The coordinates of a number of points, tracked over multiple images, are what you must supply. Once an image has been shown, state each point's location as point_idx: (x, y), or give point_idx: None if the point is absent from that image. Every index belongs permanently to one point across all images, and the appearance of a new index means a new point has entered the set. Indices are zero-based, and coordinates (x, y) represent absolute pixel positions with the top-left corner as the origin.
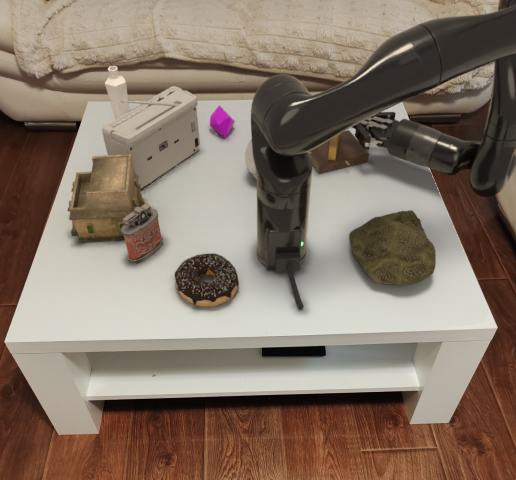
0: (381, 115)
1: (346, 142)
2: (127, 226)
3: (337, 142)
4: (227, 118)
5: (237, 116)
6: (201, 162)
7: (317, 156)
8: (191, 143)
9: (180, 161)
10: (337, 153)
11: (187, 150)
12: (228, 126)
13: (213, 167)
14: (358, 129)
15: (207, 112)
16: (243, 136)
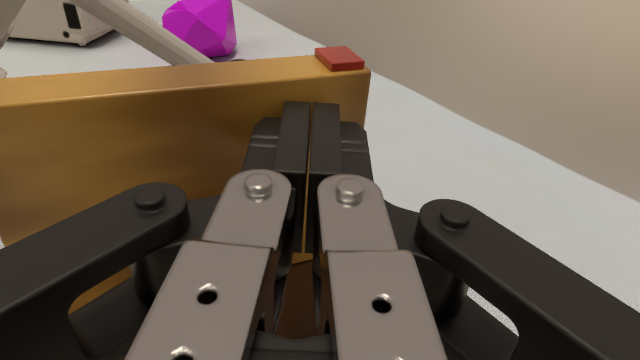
0: (550, 324)
1: (296, 301)
2: None
3: (19, 214)
4: (188, 11)
5: (283, 56)
6: (32, 59)
7: None
8: (51, 7)
9: (14, 34)
10: None
11: (37, 19)
12: (184, 35)
13: (8, 75)
14: (66, 225)
15: (262, 30)
16: None
